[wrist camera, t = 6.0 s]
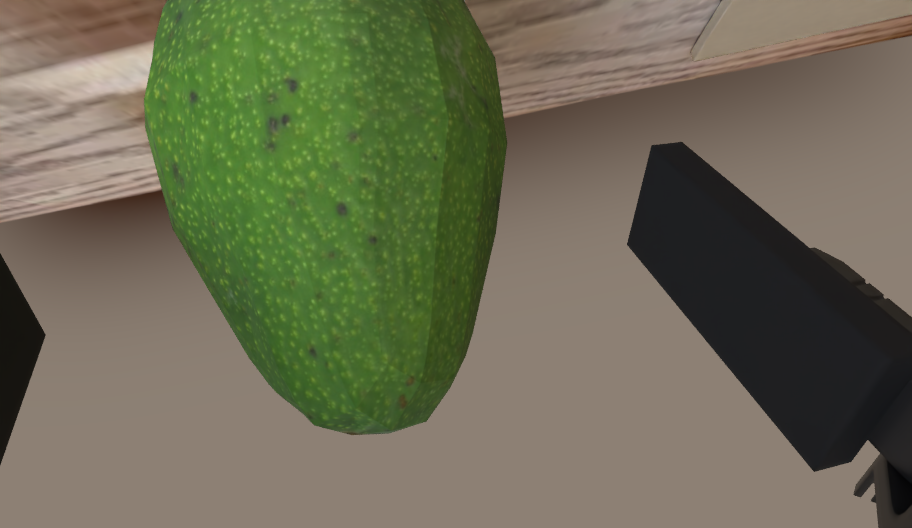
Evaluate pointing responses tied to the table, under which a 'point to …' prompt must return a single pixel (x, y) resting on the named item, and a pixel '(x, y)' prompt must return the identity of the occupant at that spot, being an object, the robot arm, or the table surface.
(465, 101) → the avocado
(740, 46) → the corner mat
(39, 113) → the table surface
